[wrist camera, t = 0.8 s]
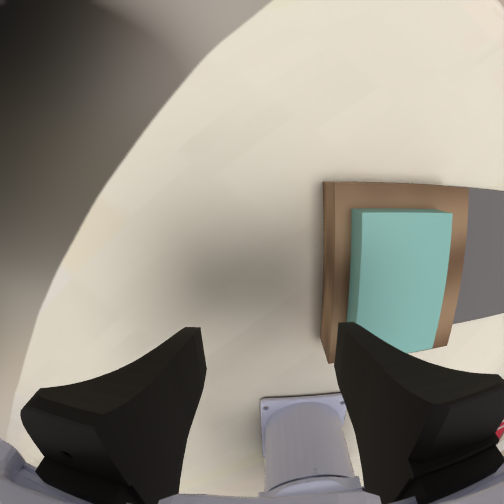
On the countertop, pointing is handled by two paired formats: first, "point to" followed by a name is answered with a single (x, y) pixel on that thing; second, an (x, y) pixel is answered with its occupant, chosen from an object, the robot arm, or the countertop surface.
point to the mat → (482, 257)
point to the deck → (339, 244)
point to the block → (399, 273)
